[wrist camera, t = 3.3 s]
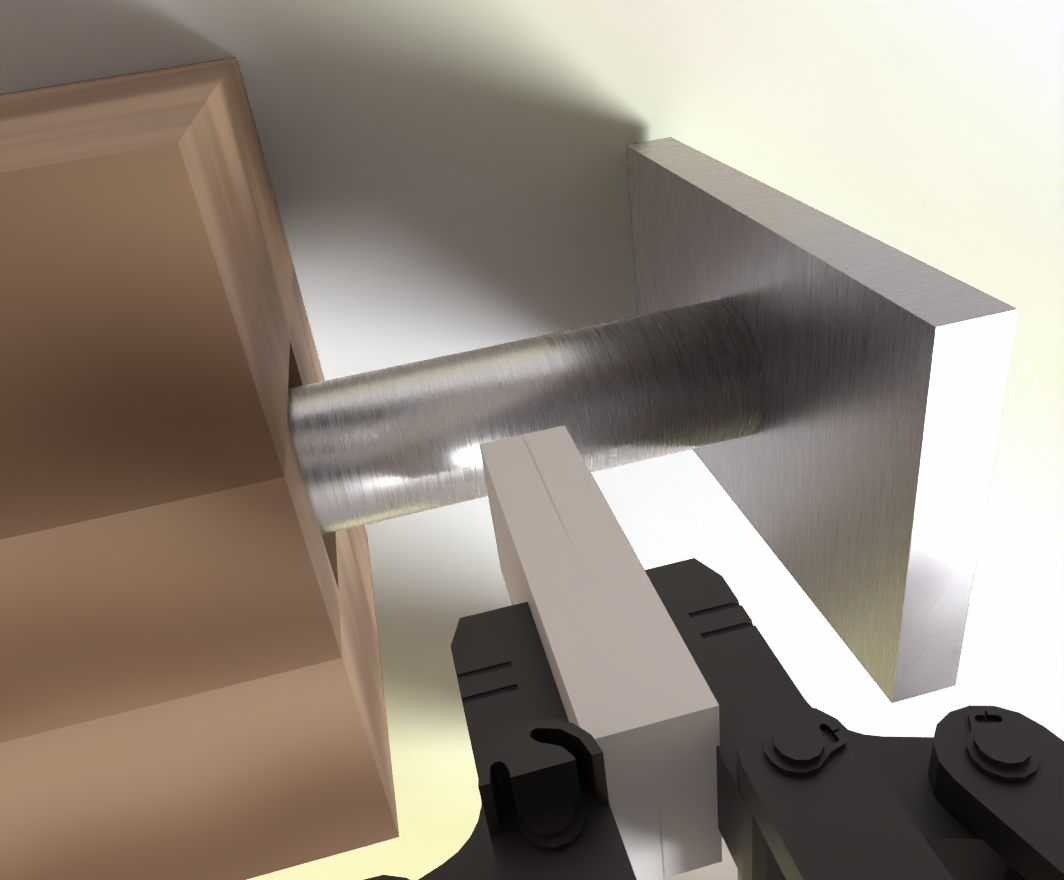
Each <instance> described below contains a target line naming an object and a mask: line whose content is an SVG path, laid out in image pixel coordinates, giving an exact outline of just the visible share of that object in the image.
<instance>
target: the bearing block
mask: <svg viewBox="0 0 1064 880" xmlns="http://www.w3.org/2000/svg"><path fill="white" fill-rule="evenodd" d="M322 381H324V377H323V373H322V370H321V366H320V362H319V359H318V355H317V351H316V348H315V344H314V340H313V337H312V333H311V329H310V326H309V322H308V318H307V315H306V311H305V307H304V304H303V300H302V296H301V293H300V289H299V285H298V282H297V278H296V274H295V271H294V267H293V263H292V260H291V256H290V252H289V249H288V245H287V241H286V238H285V234H284V230H283V227H282V223H281V219H280V216H279V212H278V208H277V205H276V201H275V197H274V194H273V190H272V186H271V183H270V179H269V175H268V172H267V168H266V164H265V161H264V157H263V153H262V150H261V146H260V142H259V139H258V135H257V131H256V128H255V124H254V120H253V117H252V113H251V109H250V106H249V102H248V98H247V95H246V91H245V87H244V84H243V80H242V76H241V73H240V69H239V65H238V62H237V58H236V57H235V58H229V59H222V60H216V61H210V62H203V63H197V64H191V65H184V66H178V67H172V68H165V69H159V70H153V71H146V72H140V73H133V74H127V75H121V76H114V77H108V78H102V79H95V80H89V81H83V82H76V83H70V84H64V85H57V86H51V87H45V88H38V89H32V90H26V91H19V92H13V93H7V94H0V880H246V879H249V878H253V877H257V876H260V875H264V874H267V873H271V872H275V871H278V870H282V869H285V868H289V867H292V866H296V865H300V864H303V863H307V862H310V861H314V860H318V859H321V858H325V857H328V856H332V855H335V854H339V853H343V852H346V851H350V850H353V849H357V848H361V847H364V846H368V845H371V844H375V843H378V842H382V841H386V840H389V839H393V838H396V837H399V831H398V822H397V812H396V803H395V793H394V784H393V775H392V765H391V756H390V746H389V737H388V728H387V718H386V709H385V699H384V690H383V681H382V671H381V662H380V652H379V643H378V634H377V624H376V615H375V605H374V596H373V587H372V577H371V568H370V558H369V549H368V540H367V534H366V531H365V527H364V525H360V526H356V527H352V528H347V529H343V530H339V531H334V532H330V533H326V534H321V531H320V528H319V525H318V522H317V518H316V515H315V512H314V509H313V505H312V502H311V499H310V495H309V492H308V489H307V486H306V482H305V479H304V476H303V472H302V469H301V466H300V463H299V459H298V456H297V453H296V450H295V446H294V443H293V440H292V436H291V433H290V430H289V427H288V423H287V403H288V389H289V388H293V387H298V386H303V385H308V384H313V383H318V382H322Z"/></svg>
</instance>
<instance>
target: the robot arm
mask: <svg viewBox="0 0 1064 880" xmlns="http://www.w3.org/2000/svg"><path fill="white" fill-rule="evenodd" d="M479 446H480V452H481V458H482V463H483V469H484V475H485V480H486V486H487V492H488V497H489V503H490V508H491V514H492V520H493V525H494V531H495V537H496V542H497V548H498V553H499V559H500V565H501V570H502V573H503V577H504V580H505V583H506V586H507V589H508V592H509V595H510V598H511V602H512V606H508V607H504V608H500V609H496V610H492V611H487V612H483V613H479V614H475V615H471V616H467V617H463V618H460V620H459V623H458V626H457V629H456V632H455V635H454V638H453V641H452V644H451V650H452V655H453V659H454V664H455V669H456V674H457V678H458V683H459V688H460V693H461V697H462V702H463V707H464V712H465V716H466V721H467V726H468V731H469V735H470V740H471V745H472V750H473V754H474V759H475V764H476V769H477V773H478V778H479V791H480V795H481V799H482V807H481V811H480V816H479V820H478V823H477V825H476V827H475V829H474V831H473V833H472V835H471V837H470V838H469V839H468V841H467V842H466V843H465V844H464V845H463V847H462V848H461V849H460V850H459V852H457V853H456V854H455V855H454V856H452V857H451V858H450V859H449V860H447V861H446V862H445V863H444V864H442V865H441V866H439V867H438V868H436V869H434V870H433V871H431V872H430V873H428V874H427V875H425V876H424V877H422V878H420V879H419V880H661V879H665V878H668V877H671V876H675V875H678V874H681V873H685V872H688V871H692V870H695V869H698V868H702V867H705V866H708V865H712V864H715V863H719V862H722V837H723V839H724V841H725V843H726V845H727V848H728V850H729V852H730V854H731V856H732V858H733V860H734V862H735V864H736V867H737V869H738V880H1064V741H1062V740H1061V739H1060V738H1058V737H1057V736H1056V735H1054V734H1053V733H1052V732H1050V731H1049V730H1048V729H1046V728H1045V727H1043V726H1042V725H1040V724H1038V723H1036V722H1035V721H1033V720H1031V719H1029V718H1027V717H1026V716H1024V715H1022V714H1020V713H1017V712H1013V711H1010V710H1006V709H1003V708H999V707H995V706H968V707H965V708H962V709H958V710H955V711H952V712H950V713H949V714H948V715H947V716H945V717H944V718H943V719H942V720H941V721H940V722H939V723H938V724H937V727H936V731H935V736H934V738H927V737H880V736H871V735H863V734H860V733H856V732H853V731H849V730H847V729H846V728H845V727H844V726H843V725H842V724H841V723H840V722H839V721H838V720H837V719H835V718H833V717H831V716H829V715H828V714H826V713H824V712H822V711H820V710H818V709H815V708H812V707H811V706H810V705H809V704H808V703H807V702H806V700H805V699H804V698H803V696H802V695H801V693H800V692H799V690H798V689H797V687H796V686H795V685H794V683H793V682H792V680H791V679H790V677H789V676H788V674H787V673H786V671H785V670H784V668H783V667H782V665H781V664H780V662H779V661H778V659H777V658H776V656H775V655H774V653H773V652H772V650H771V649H770V647H769V646H768V644H767V643H766V641H765V640H764V638H763V637H762V635H761V634H760V632H759V631H758V629H757V628H756V626H753V625H752V620H751V619H750V617H749V616H748V614H747V613H746V612H745V610H744V609H743V607H742V606H740V605H739V603H738V600H737V598H736V597H735V595H734V594H733V592H732V591H731V589H730V588H729V586H728V585H727V583H726V582H725V580H724V579H723V577H722V576H721V575H719V574H718V573H716V572H715V571H713V570H711V569H710V568H708V567H707V566H705V565H704V564H702V563H701V562H699V561H698V560H696V559H695V558H693V559H689V560H685V561H681V562H677V563H673V564H669V565H665V566H661V567H657V568H653V569H649V570H644V568H643V567H642V565H641V563H640V561H639V559H638V558H637V556H636V554H635V552H634V550H633V548H632V547H631V545H630V543H629V541H628V539H627V538H626V536H625V534H624V532H623V530H622V529H621V527H620V525H619V523H618V521H617V520H616V518H615V516H614V514H613V512H612V510H611V509H610V507H609V505H608V503H607V501H606V500H605V498H604V496H603V494H602V492H601V491H600V489H599V487H598V485H597V483H596V481H595V480H594V478H593V476H592V474H591V472H590V471H589V469H588V467H587V465H586V463H585V462H584V460H583V458H582V456H581V454H580V452H579V451H578V449H577V447H576V445H575V443H574V442H573V440H572V438H571V436H570V434H569V433H568V431H567V429H566V427H565V425H563V426H559V427H554V428H550V429H545V430H541V431H536V432H532V433H527V434H523V435H518V436H514V437H509V438H504V439H500V440H495V441H491V442H486V443H482V444H479ZM365 880H409V879H407V878H403V877H395V876H387V875H381V876H377V877H373V878H369V879H365Z"/></svg>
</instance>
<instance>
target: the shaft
mask: <svg viewBox="0 0 1064 880" xmlns="http://www.w3.org/2000/svg"><path fill="white" fill-rule="evenodd" d="M627 158H628V173H629V188H630V203H631V218H632V232H633V247H634V262H635V277H636V292H637V307H638V316H635V317H630V318H625V319H620V320H615V321H611V322H606V323H601V324H596V325H591V326H587V327H582V328H577V329H572V330H567V331H563V332H558V333H553V334H548V335H543V336H539V337H534V338H529V339H524V340H519V341H515V342H510V343H505V344H500V345H495V346H490V347H486V348H481V349H476V350H471V351H466V352H462V353H457V354H452V355H447V356H442V357H438V358H433V359H428V360H423V361H418V362H414V363H409V364H404V365H399V366H394V367H390V368H385V369H380V370H375V371H370V372H366V373H361V374H356V375H351V376H346V377H342V378H337V379H332V380H327V381H322V382H318V383H313V384H308V385H303V386H298V387H293V388H289V389H288V403H287V423H288V427H289V430H290V433H291V436H292V440H293V443H294V446H295V450H296V453H297V456H298V459H299V463H300V466H301V469H302V472H303V476H304V479H305V482H306V486H307V489H308V492H309V495H310V499H311V502H312V505H313V509H314V512H315V515H316V518H317V522H318V525H319V528H320V531H321V534H326V533H330V532H334V531H339V530H343V529H347V528H352V527H356V526H360V525H365V524H369V523H373V522H378V521H382V520H386V519H391V518H395V517H399V516H404V515H408V514H412V513H417V512H421V511H425V510H430V509H434V508H438V507H443V506H447V505H451V504H456V503H460V502H464V501H469V500H473V499H477V498H482V497H486V496H488V492H487V486H486V480H485V475H484V469H483V463H482V458H481V452H480V446H479V444H482V443H486V442H491V441H495V440H500V439H504V438H509V437H514V436H518V435H523V434H527V433H532V432H536V431H541V430H545V429H550V428H554V427H559V426H563V425H565V427H566V429H567V431H568V433H569V434H570V436H571V438H572V440H573V442H574V443H575V445H576V447H577V449H578V451H579V452H580V454H581V456H582V458H583V460H584V462H585V463H586V465H587V467H588V469H589V471H590V472H594V471H599V470H603V469H607V468H612V467H616V466H620V465H625V464H629V463H633V462H638V461H642V460H646V459H651V458H655V457H659V456H664V455H668V454H672V453H677V452H681V451H685V450H690V449H693V450H694V451H695V453H696V454H697V455H698V457H699V458H700V459H701V460H702V462H703V463H704V464H705V465H706V467H707V468H708V469H709V471H710V472H711V473H712V474H713V476H714V477H715V478H716V479H717V481H718V482H719V483H720V485H721V486H722V487H723V488H724V490H725V491H726V492H727V494H728V495H729V496H730V497H731V499H732V500H733V501H734V502H735V504H736V505H737V506H738V508H739V509H740V510H741V511H742V513H743V514H744V515H745V516H746V518H747V519H748V520H749V522H750V523H751V524H752V525H753V527H754V528H755V529H756V530H757V532H758V533H759V534H760V536H761V537H762V538H763V539H764V541H765V542H766V543H767V544H768V546H769V547H770V548H771V550H772V551H773V552H774V553H775V555H776V556H777V557H778V558H779V560H780V561H781V562H782V564H783V565H784V566H785V567H786V569H787V570H788V571H789V572H790V574H791V575H792V576H793V578H794V579H795V580H796V581H797V583H798V584H799V585H800V586H801V588H802V589H803V590H804V592H805V593H806V594H807V595H808V597H809V598H810V599H811V600H812V602H813V603H814V604H815V606H816V607H817V608H818V609H819V611H820V612H821V613H822V614H823V616H824V617H825V618H826V620H827V621H828V622H829V623H830V625H831V626H832V627H833V628H834V630H835V631H836V632H837V634H838V635H839V636H840V637H841V639H842V640H843V641H844V642H845V644H846V645H847V646H848V648H849V649H850V650H851V651H852V653H853V654H854V655H855V656H856V658H857V659H858V660H859V662H860V663H861V664H862V665H863V667H864V668H865V669H866V670H867V672H868V673H869V674H870V676H871V677H872V678H873V679H874V681H875V682H876V683H877V684H878V686H879V687H880V688H881V690H882V691H883V692H884V693H885V695H886V696H887V697H888V698H889V700H890V701H891V702H892V703H893V702H897V701H900V700H904V699H907V698H911V697H914V696H918V695H922V694H925V693H929V692H932V691H936V690H939V689H943V688H947V687H950V686H954V685H955V683H956V677H957V671H958V665H959V659H960V654H961V648H962V642H963V636H964V630H965V624H966V618H967V612H968V606H969V600H970V594H971V588H972V582H973V576H974V570H975V564H976V558H977V552H978V546H979V540H980V534H981V528H982V522H983V516H984V510H985V504H986V498H987V493H988V487H989V481H990V475H991V469H992V463H993V457H994V451H995V445H996V439H997V433H998V427H999V421H1000V415H1001V409H1002V403H1003V397H1004V391H1005V385H1006V379H1007V373H1008V367H1009V361H1010V355H1011V349H1012V343H1013V337H1014V331H1015V326H1016V320H1017V314H1018V309H1016V308H1014V307H1012V306H1010V305H1008V304H1006V303H1004V302H1002V301H1000V300H998V299H996V298H994V297H992V296H990V295H988V294H986V293H984V292H982V291H980V290H978V289H976V288H974V287H972V286H970V285H968V284H966V283H964V282H962V281H960V280H958V279H956V278H954V277H952V276H950V275H948V274H946V273H944V272H942V271H940V270H938V269H936V268H934V267H931V266H929V265H927V264H925V263H923V262H921V261H919V260H917V259H915V258H913V257H911V256H909V255H907V254H905V253H903V252H901V251H899V250H897V249H895V248H893V247H891V246H889V245H887V244H885V243H883V242H881V241H879V240H877V239H875V238H873V237H871V236H869V235H867V234H865V233H863V232H861V231H859V230H857V229H855V228H853V227H851V226H849V225H847V224H845V223H843V222H841V221H839V220H837V219H835V218H833V217H831V216H829V215H827V214H825V213H823V212H821V211H818V210H816V209H814V208H812V207H810V206H808V205H806V204H804V203H802V202H800V201H798V200H796V199H794V198H792V197H790V196H788V195H786V194H784V193H782V192H780V191H778V190H776V189H774V188H772V187H770V186H768V185H766V184H764V183H762V182H760V181H758V180H756V179H754V178H752V177H750V176H748V175H746V174H744V173H742V172H740V171H738V170H736V169H734V168H732V167H730V166H728V165H726V164H724V163H722V162H720V161H718V160H716V159H714V158H712V157H710V156H708V155H706V154H703V153H701V152H699V151H697V150H695V149H693V148H691V147H689V146H687V145H685V144H683V143H681V142H679V141H677V140H675V139H673V138H671V137H669V138H664V139H658V140H653V141H647V142H642V143H636V144H631V145H627Z"/></svg>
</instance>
